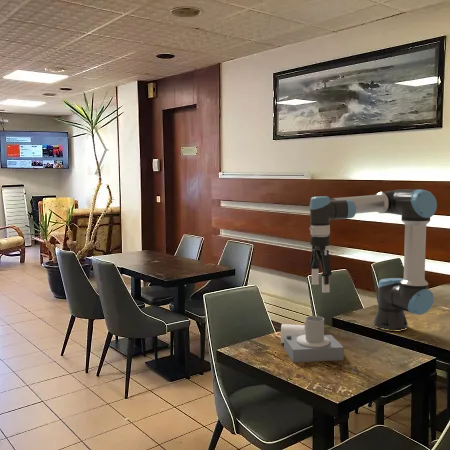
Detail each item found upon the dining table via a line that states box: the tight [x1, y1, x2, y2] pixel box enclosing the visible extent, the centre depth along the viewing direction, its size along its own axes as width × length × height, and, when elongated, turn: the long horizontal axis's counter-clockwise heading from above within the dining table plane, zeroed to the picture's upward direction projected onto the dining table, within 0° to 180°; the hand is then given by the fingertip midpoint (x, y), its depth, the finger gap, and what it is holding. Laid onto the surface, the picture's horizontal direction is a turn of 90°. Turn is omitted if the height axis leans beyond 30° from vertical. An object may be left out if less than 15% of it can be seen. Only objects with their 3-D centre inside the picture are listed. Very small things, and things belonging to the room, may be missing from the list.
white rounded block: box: [280, 323, 306, 344], centre depth 210 cm, size 12×10×8 cm
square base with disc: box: [283, 334, 345, 363], centre depth 195 cm, size 20×15×6 cm
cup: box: [304, 315, 325, 343], centre depth 194 cm, size 7×10×9 cm
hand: (320, 288), depth 195 cm, fingers open, 13 cm apart
